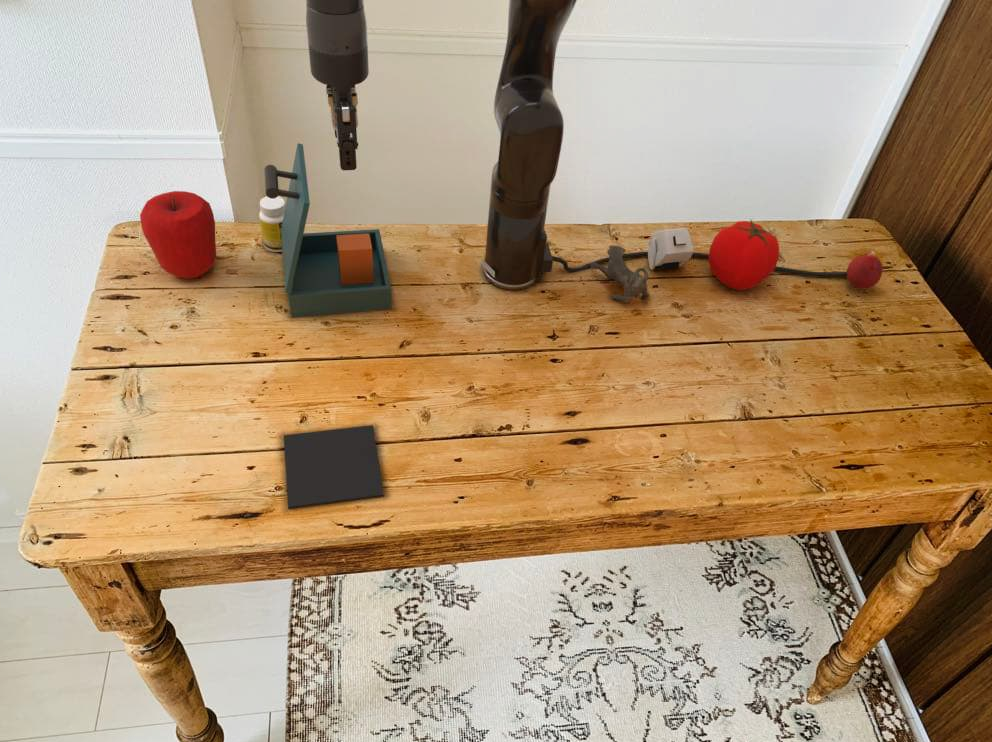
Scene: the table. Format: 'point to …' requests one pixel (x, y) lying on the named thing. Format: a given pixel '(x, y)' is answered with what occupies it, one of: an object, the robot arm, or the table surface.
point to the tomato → (743, 255)
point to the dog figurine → (624, 275)
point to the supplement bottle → (272, 222)
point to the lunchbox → (336, 278)
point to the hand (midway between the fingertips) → (345, 152)
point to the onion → (864, 271)
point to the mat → (331, 466)
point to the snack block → (355, 259)
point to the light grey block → (669, 248)
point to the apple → (180, 232)
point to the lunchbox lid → (291, 211)
